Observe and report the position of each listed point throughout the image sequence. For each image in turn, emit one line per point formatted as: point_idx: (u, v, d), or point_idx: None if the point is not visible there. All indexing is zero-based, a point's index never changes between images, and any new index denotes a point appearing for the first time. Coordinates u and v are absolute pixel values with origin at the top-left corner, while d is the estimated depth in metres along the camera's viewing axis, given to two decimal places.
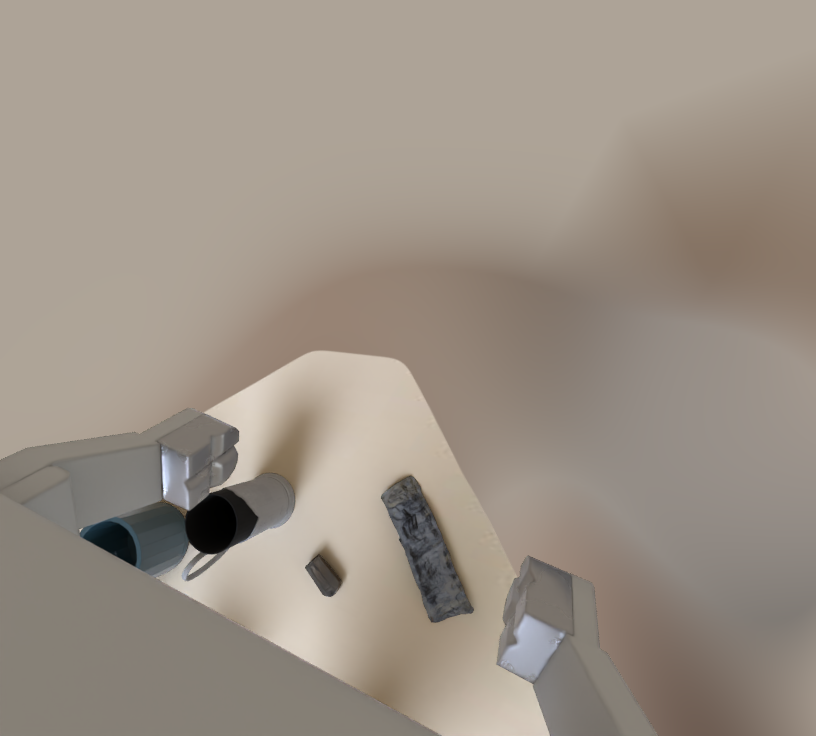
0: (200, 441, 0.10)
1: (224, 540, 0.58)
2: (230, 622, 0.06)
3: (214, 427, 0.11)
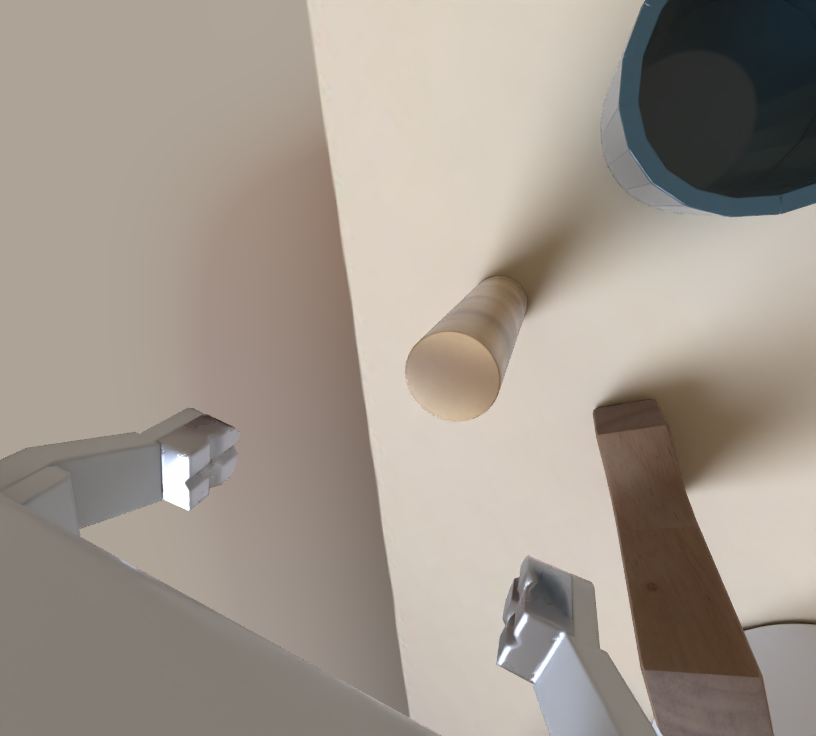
0: (200, 441, 0.10)
1: None
2: (230, 622, 0.06)
3: (214, 428, 0.11)
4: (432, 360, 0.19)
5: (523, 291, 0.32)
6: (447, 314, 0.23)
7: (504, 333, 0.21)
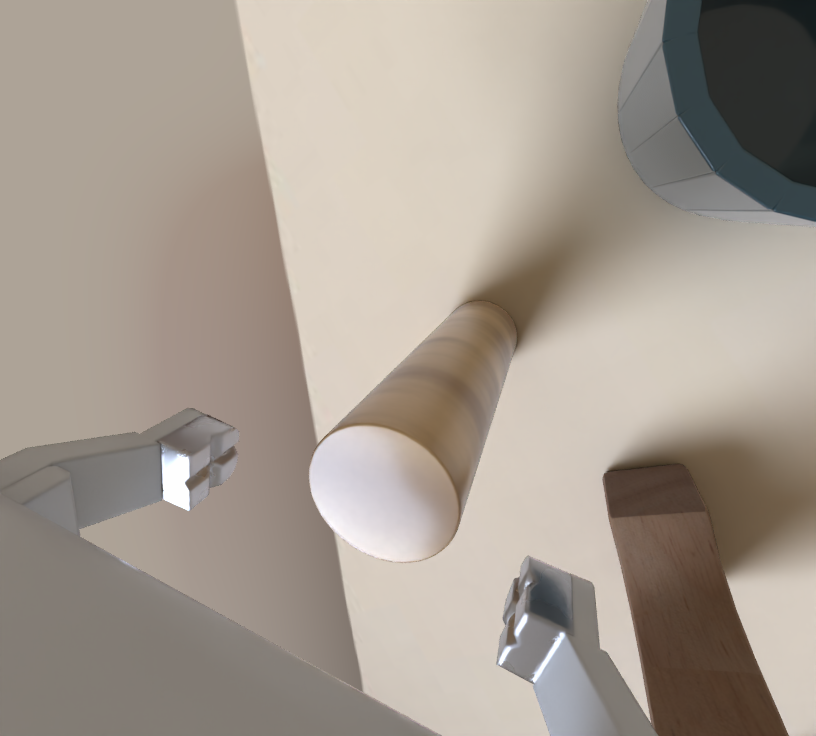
0: (200, 441, 0.10)
1: None
2: (230, 622, 0.06)
3: (214, 427, 0.11)
4: (348, 468, 0.11)
5: (512, 321, 0.24)
6: (392, 371, 0.15)
7: (475, 407, 0.14)
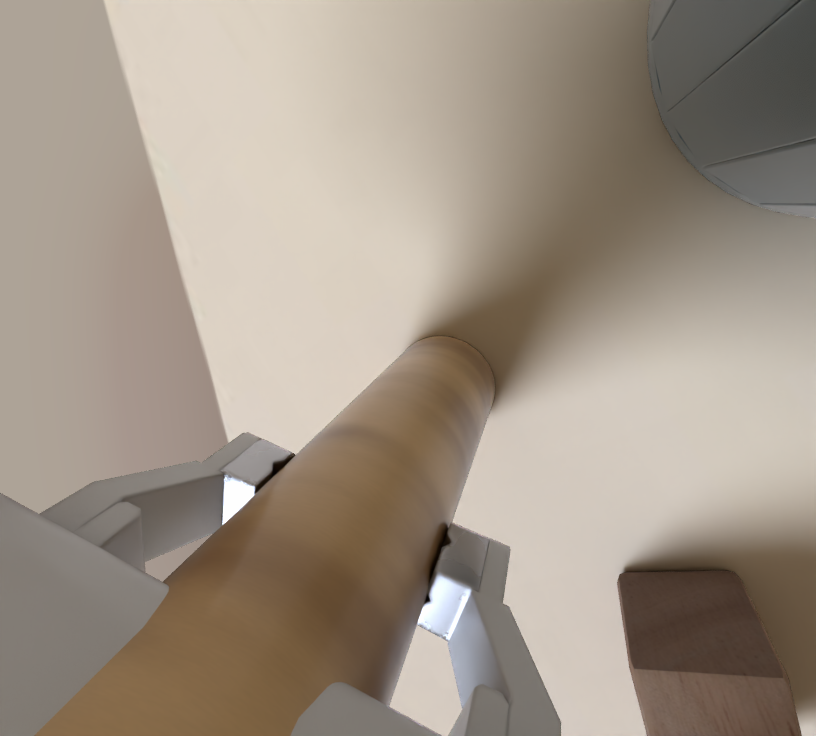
0: (262, 469, 0.10)
1: None
2: None
3: (274, 454, 0.10)
4: None
5: (487, 366, 0.17)
6: (225, 523, 0.08)
7: (364, 637, 0.06)
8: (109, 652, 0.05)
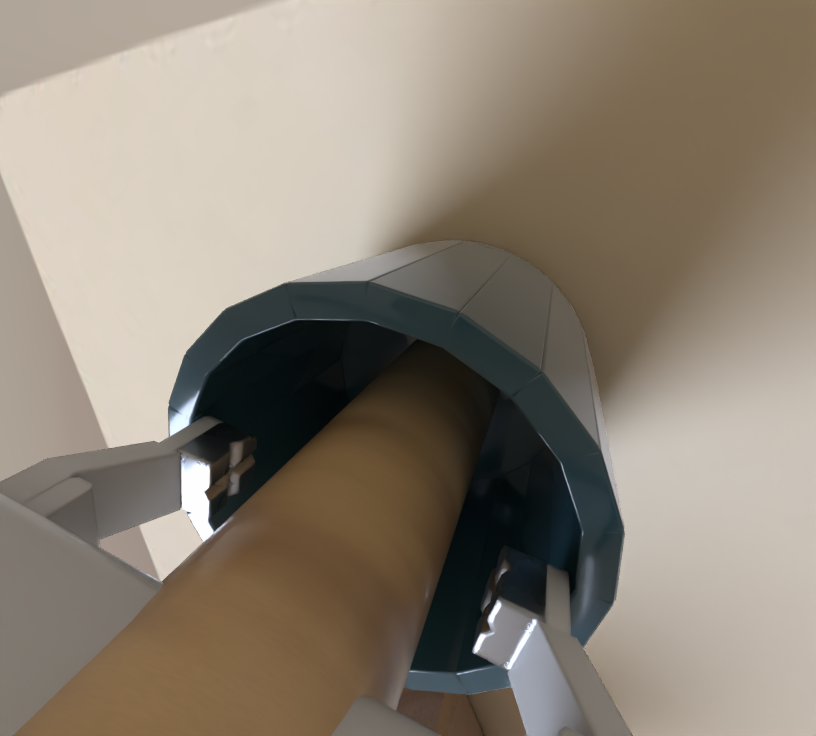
0: (220, 450, 0.10)
1: None
2: None
3: (233, 436, 0.11)
4: None
5: None
6: (238, 510, 0.08)
7: (380, 620, 0.06)
8: None
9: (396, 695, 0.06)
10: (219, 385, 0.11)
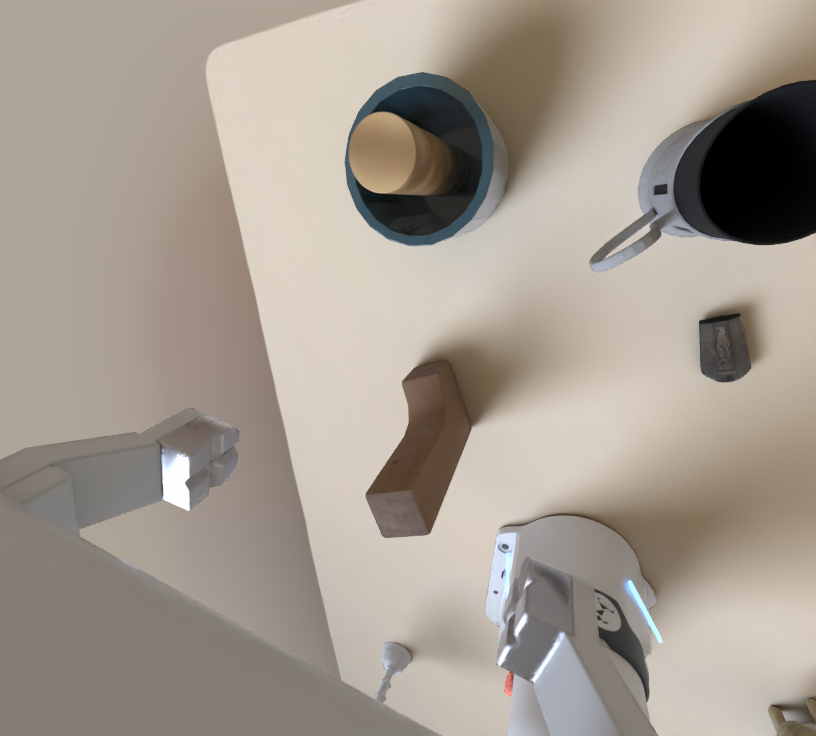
0: (200, 441, 0.10)
1: (693, 222, 0.27)
2: (230, 622, 0.06)
3: (214, 428, 0.11)
4: (367, 140, 0.25)
5: (465, 156, 0.38)
6: None
7: (428, 138, 0.28)
8: (109, 652, 0.05)
9: (432, 156, 0.28)
10: None
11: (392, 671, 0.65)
